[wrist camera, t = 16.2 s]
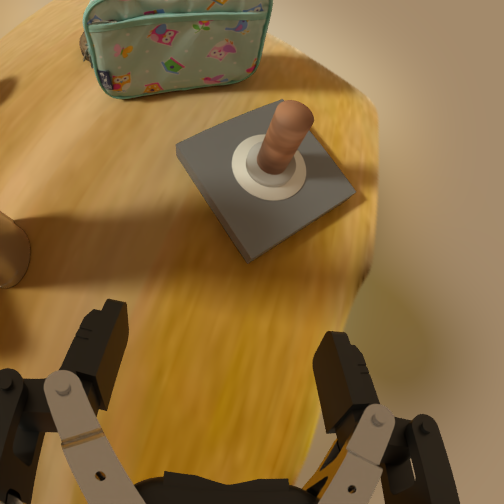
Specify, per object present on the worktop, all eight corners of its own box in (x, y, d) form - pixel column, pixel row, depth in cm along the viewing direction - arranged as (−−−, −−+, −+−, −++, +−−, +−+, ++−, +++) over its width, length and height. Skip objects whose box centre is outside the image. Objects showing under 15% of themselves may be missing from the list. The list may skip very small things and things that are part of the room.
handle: (236, 157, 38) (251, 102, 28) (274, 138, 40) (299, 86, 30) (264, 195, 38) (290, 149, 27) (302, 174, 40) (336, 127, 29)
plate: (176, 155, 41) (175, 143, 38) (277, 110, 45) (282, 98, 42) (247, 263, 39) (252, 258, 36) (346, 199, 44) (356, 191, 41)
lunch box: (95, 112, 40) (61, 7, 20) (99, 71, 42) (77, -25, 21) (256, 89, 46) (290, -15, 25) (243, 52, 48) (268, -42, 27)
